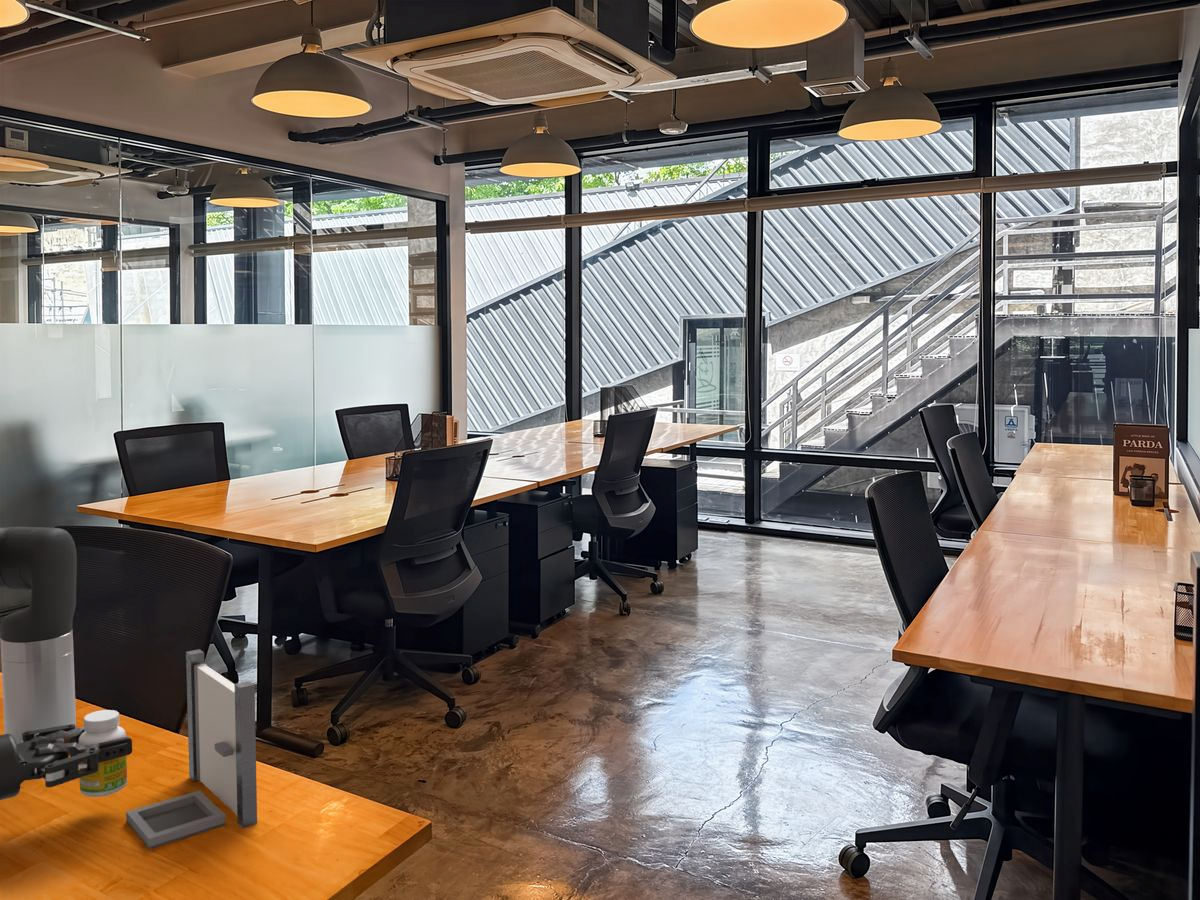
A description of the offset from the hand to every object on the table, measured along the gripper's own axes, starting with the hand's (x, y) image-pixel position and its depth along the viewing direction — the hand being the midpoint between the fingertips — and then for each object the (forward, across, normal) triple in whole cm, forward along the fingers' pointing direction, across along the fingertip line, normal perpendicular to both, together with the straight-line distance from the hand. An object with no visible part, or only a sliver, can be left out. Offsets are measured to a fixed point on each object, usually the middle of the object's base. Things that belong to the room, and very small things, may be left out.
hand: (123, 737), depth 120 cm
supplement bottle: (-3, 0, +6) cm, 7 cm away
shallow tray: (+3, -9, +9) cm, 13 cm away
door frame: (+10, -7, +9) cm, 15 cm away
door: (+9, -6, +9) cm, 14 cm away
